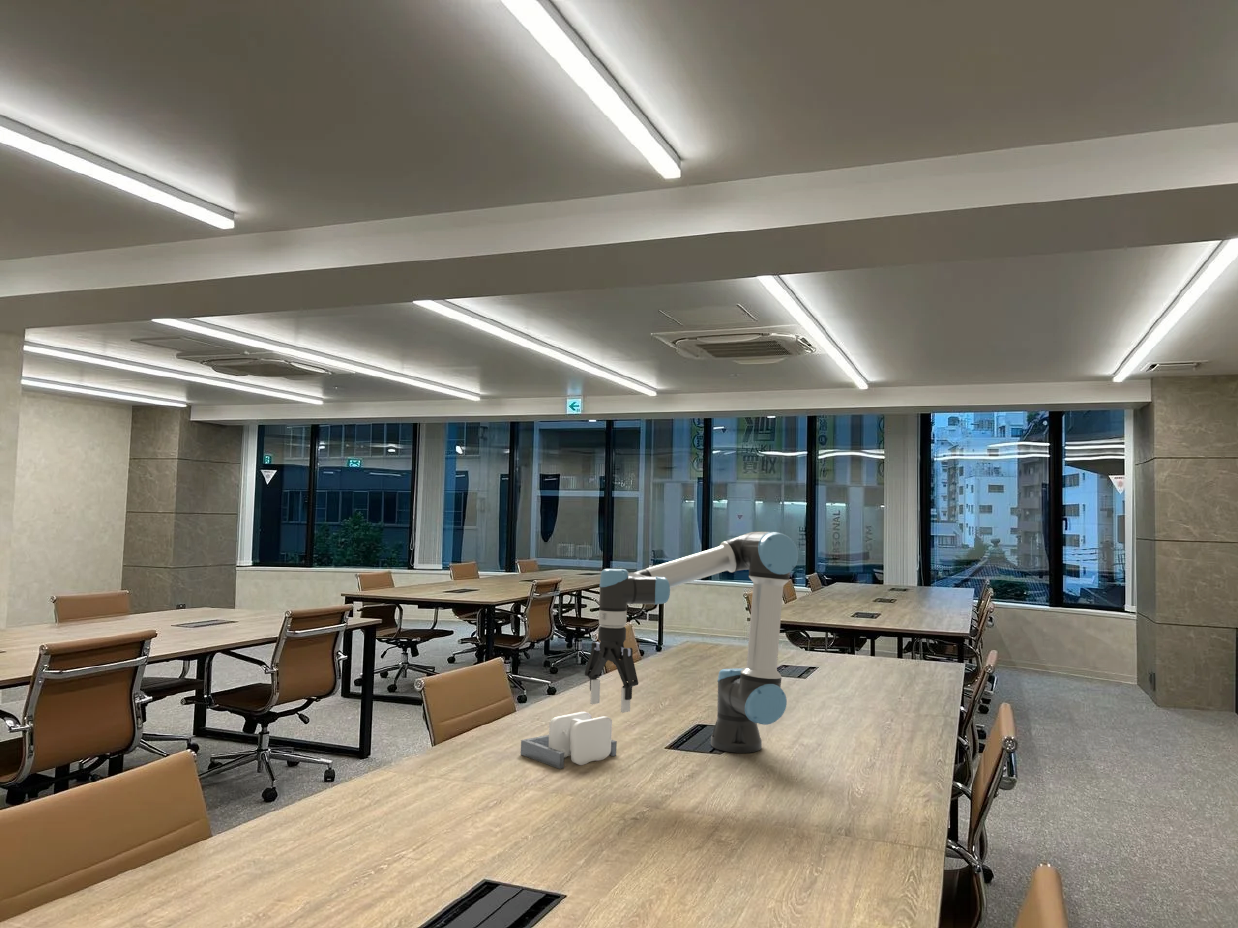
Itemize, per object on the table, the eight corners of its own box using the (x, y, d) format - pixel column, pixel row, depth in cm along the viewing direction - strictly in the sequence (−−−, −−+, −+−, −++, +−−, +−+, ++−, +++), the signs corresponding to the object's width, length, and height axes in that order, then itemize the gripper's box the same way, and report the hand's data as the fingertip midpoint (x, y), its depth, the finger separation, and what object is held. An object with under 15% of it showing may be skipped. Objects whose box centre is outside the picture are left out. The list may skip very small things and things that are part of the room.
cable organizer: (572, 768, 225) (573, 724, 225) (546, 759, 232) (547, 716, 233) (611, 758, 235) (612, 716, 236) (585, 750, 243) (586, 709, 243)
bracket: (616, 755, 238) (616, 740, 238) (559, 768, 223) (559, 753, 224) (576, 742, 250) (577, 728, 250) (520, 754, 236) (521, 739, 236)
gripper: (573, 621, 234) (570, 701, 232) (633, 632, 216) (630, 717, 215) (593, 620, 239) (591, 697, 237) (653, 630, 222) (651, 713, 220)
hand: (609, 707), depth 226 cm, fingers open, 11 cm apart
